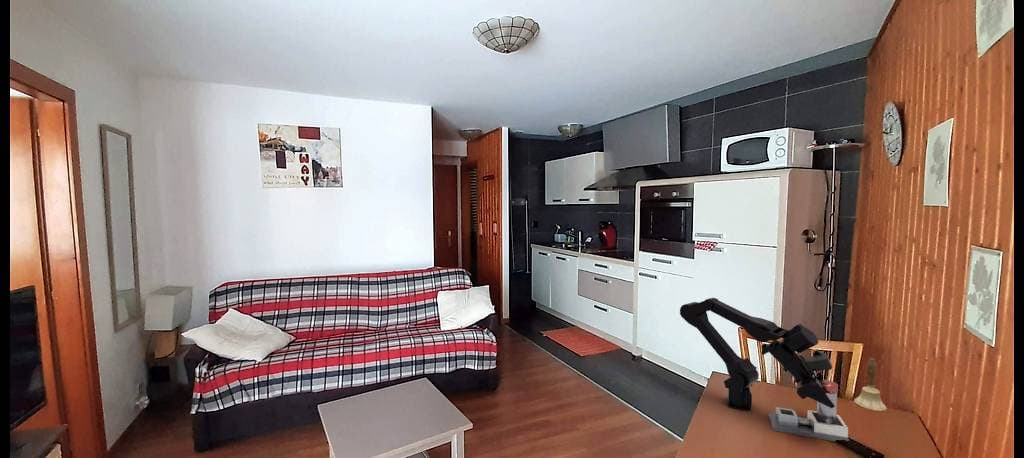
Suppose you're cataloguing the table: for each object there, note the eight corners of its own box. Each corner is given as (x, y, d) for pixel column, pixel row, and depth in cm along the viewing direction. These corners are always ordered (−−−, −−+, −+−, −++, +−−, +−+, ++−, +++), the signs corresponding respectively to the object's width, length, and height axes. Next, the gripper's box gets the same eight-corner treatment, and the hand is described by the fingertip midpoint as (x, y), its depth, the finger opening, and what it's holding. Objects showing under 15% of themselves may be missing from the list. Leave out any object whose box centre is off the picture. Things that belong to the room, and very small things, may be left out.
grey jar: (818, 426, 119) (820, 385, 118) (814, 418, 123) (816, 378, 122) (838, 429, 117) (840, 387, 116) (833, 421, 121) (835, 381, 120)
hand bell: (893, 412, 131) (895, 364, 130) (863, 410, 132) (865, 362, 131) (876, 400, 139) (877, 354, 138) (848, 398, 140) (849, 353, 139)
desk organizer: (773, 430, 121) (774, 416, 121) (768, 415, 130) (768, 403, 129) (848, 443, 114) (849, 429, 114) (838, 427, 122) (838, 414, 122)
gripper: (813, 354, 113) (863, 403, 107) (812, 335, 128) (856, 378, 122) (778, 374, 118) (824, 423, 113) (781, 354, 133) (822, 396, 128)
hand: (832, 403), depth 119 cm, fingers closed on grey jar, 4 cm apart
